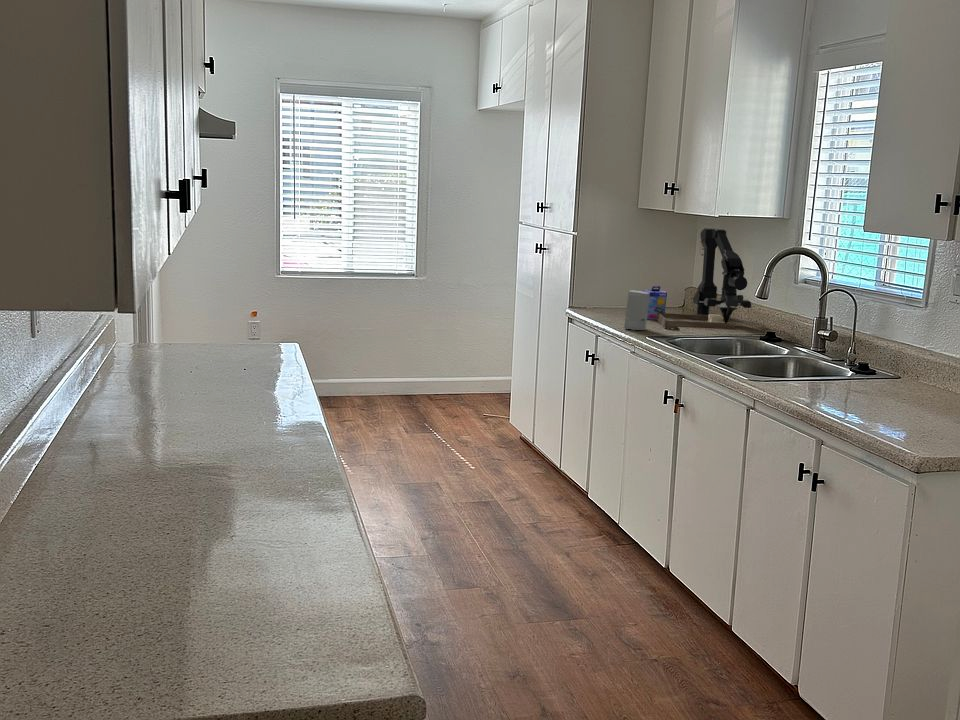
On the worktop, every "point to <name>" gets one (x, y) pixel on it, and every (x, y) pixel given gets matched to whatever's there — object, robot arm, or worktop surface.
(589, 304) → the worktop surface
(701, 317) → the trap box
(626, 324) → the skincare box
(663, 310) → the ink cartridge box
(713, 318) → the maple block
